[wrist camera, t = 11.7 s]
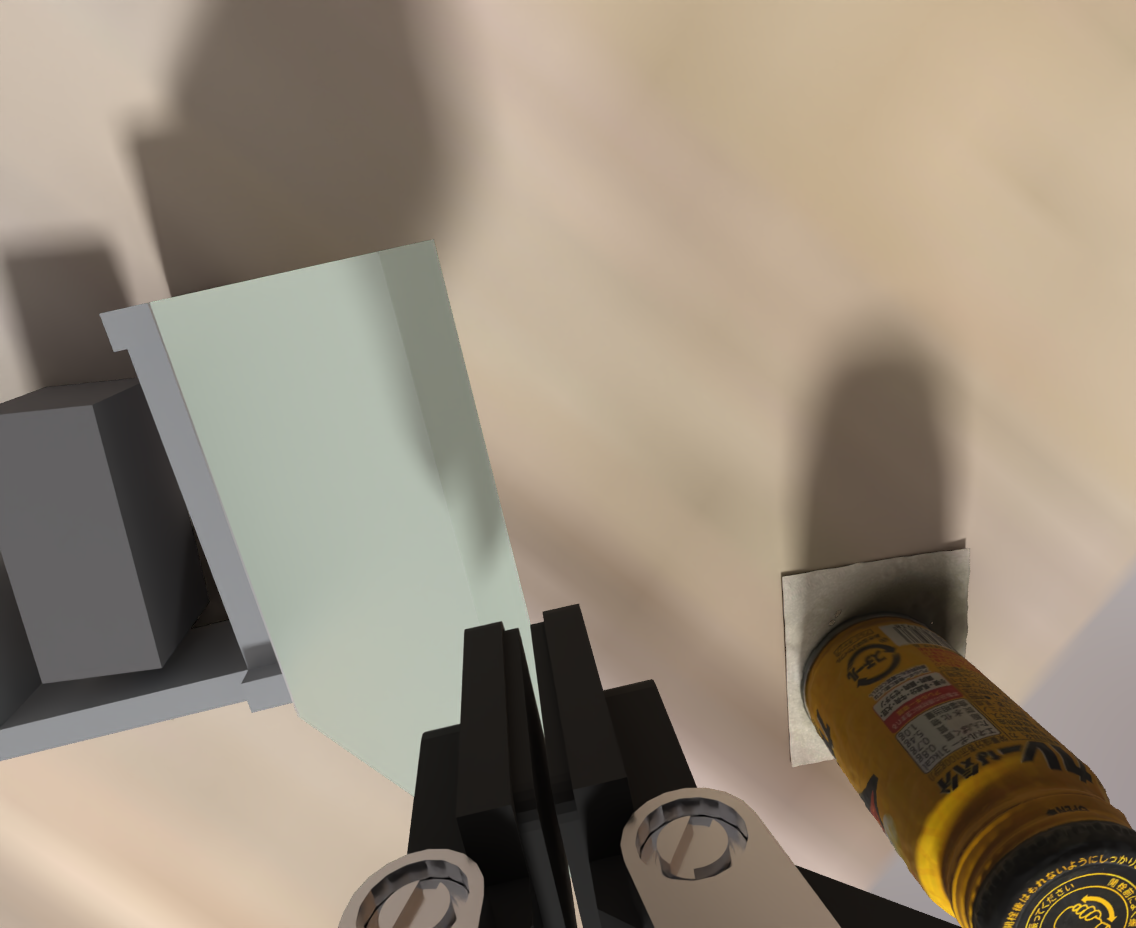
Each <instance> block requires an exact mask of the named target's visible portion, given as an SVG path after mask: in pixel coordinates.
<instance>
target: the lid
mask: <svg viewBox="0 0 1136 928" xmlns="http://www.w3.org/2000/svg"><path fill="white" fill-rule="evenodd" d="M148 306H149V309H150V311H151V314H152V317H153V320H154V322H155V325H156V328H157V331H158V333H159V336H160V339H161V342H162V344H163V347H164V350H165V353H166V355H167V358H168V361H169V364H170V366H171V369H172V372H173V375H174V377H175V380H176V383H177V386H178V388H179V391H180V394H181V397H182V399H183V402H184V405H185V408H186V410H187V413H188V416H189V419H190V421H191V424H192V427H193V430H194V433H195V435H196V438H197V441H198V444H199V446H200V449H201V452H202V455H203V457H204V460H205V463H206V466H207V468H208V471H209V474H210V477H211V479H212V482H213V485H214V488H215V490H216V493H217V496H218V499H219V501H220V504H221V507H222V510H223V512H224V515H225V518H226V521H227V523H228V526H229V529H230V532H231V534H232V537H233V540H234V543H235V545H236V548H237V551H238V554H239V556H240V559H241V562H242V565H243V567H244V570H245V573H246V576H247V578H248V581H249V584H250V587H251V589H252V592H253V595H254V598H255V600H256V603H257V606H258V609H259V611H260V614H261V617H262V620H263V622H264V625H265V628H266V631H267V633H268V636H269V639H270V642H271V644H272V647H273V650H274V653H275V655H276V658H277V661H278V664H279V666H280V669H281V672H282V675H283V677H284V680H285V683H286V686H287V689H288V691H289V694H290V697H291V700H292V702H293V705H294V708H295V711H296V713H297V716H298V717H299V718H301V719H302V720H304V721H305V722H306V723H308V724H309V725H311V726H312V727H314V728H315V729H317V730H318V731H319V732H321V733H322V734H324V735H325V736H327V737H328V738H330V739H331V740H332V741H334V742H335V743H337V744H338V745H340V746H341V747H343V748H344V749H345V750H347V751H348V752H350V753H351V754H353V755H354V756H356V757H357V758H358V759H360V760H361V761H363V762H364V763H366V764H367V765H369V766H370V767H371V768H373V769H374V770H376V771H377V772H379V773H380V774H382V775H383V776H384V777H386V778H387V779H389V780H390V781H392V782H393V783H395V784H396V785H397V786H399V787H400V788H402V789H403V790H405V791H406V792H408V793H409V794H410V795H412V796H413V797H414V794H415V786H416V777H417V769H418V761H419V753H420V744H421V738H422V734H423V733H424V732H426V731H430V730H435V729H439V728H443V727H448V726H452V725H456V724H460V715H461V692H462V669H463V646H464V630H465V629H468V628H473V627H477V626H482V625H486V624H491V623H495V622H499V621H502V622H503V625H504V628H505V630H510V629H514V628H519V631H520V635H521V639H522V643H523V647H524V652H525V656H526V660H527V664H528V669H529V673H530V677H531V682H532V686H533V690H534V695H535V699H536V703H537V707H538V712H539V716H540V720H541V725H542V729H543V721H542V714H541V706H540V698H539V691H538V683H537V675H536V668H535V660H534V652H533V645H532V637H531V630H530V625H531V624H530V620H529V616H528V612H527V608H526V604H525V600H524V596H523V592H522V588H521V584H520V580H519V576H518V572H517V568H516V564H515V560H514V556H513V553H512V549H511V545H510V541H509V537H508V533H507V529H506V525H505V521H504V517H503V513H502V509H501V505H500V501H499V497H498V493H497V489H496V485H495V481H494V477H493V473H492V469H491V465H490V461H489V457H488V453H487V449H486V445H485V441H484V437H483V433H482V429H481V425H480V421H479V417H478V414H477V410H476V406H475V402H474V398H473V394H472V390H471V386H470V382H469V378H468V374H467V370H466V366H465V362H464V358H463V354H462V350H461V346H460V342H459V338H458V334H457V330H456V326H455V322H454V318H453V314H452V310H451V306H450V302H449V298H448V294H447V290H446V286H445V282H444V278H443V275H442V271H441V267H440V263H439V259H438V255H437V251H436V247H435V243H434V239H432V240H428V241H423V242H419V243H414V244H409V245H405V246H400V247H396V248H391V249H387V250H382V251H378V252H373V253H369V254H364V255H360V256H355V257H351V258H346V259H342V260H337V261H333V262H328V263H324V264H319V265H315V266H311V267H306V268H302V269H297V270H293V271H288V272H284V273H279V274H275V275H270V276H266V277H261V278H257V279H252V280H248V281H243V282H239V283H234V284H230V285H225V286H221V287H216V288H212V289H208V290H203V291H199V292H194V293H190V294H185V295H181V296H176V297H172V298H167V299H163V300H158V301H154V302H149V303H148ZM543 733H544V729H543ZM544 737H545V736H544ZM568 867H569V865H568ZM569 874H570V870H569ZM570 877H571V874H570Z"/></svg>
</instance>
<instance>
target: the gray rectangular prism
mask: <svg viewBox="0 0 1136 928" xmlns="http://www.w3.org/2000/svg"><path fill="white" fill-rule="evenodd" d="M0 551H1V554H2V558H3V561H4V564H5V567H6V570H7V573H8V577H9V580H10V583H11V586H12V589H13V592H14V596H15V599H16V602H17V605H18V608H19V611H20V615H21V618H22V621H23V624H24V627H25V630H26V634H27V637H28V640H29V643H30V646H31V649H32V653H33V656H34V659H35V662H36V665H37V668H38V672H39V675H40V678H41V681H42V684H44V683H52V682H60V681H67V680H75V679H83V678H90V677H98V676H106V675H113V674H121V673H129V672H136V671H144V670H152V669H159V668H162V667H163V666H164V664H165V663H166V662H167V660H168V659H169V658H170V656H171V655H172V653H173V652H174V651H175V649H176V648H177V646H178V645H179V644H180V642H181V641H182V639H183V638H184V637H185V635H186V634H187V632H188V631H189V630H190V628H191V627H192V625H193V624H194V623H195V621H196V620H197V619H198V617H199V616H200V614H201V613H202V612H203V610H204V609H205V607H206V606H207V605H208V603H209V602H210V601H209V597H208V593H207V589H206V584H205V580H204V576H203V572H202V568H201V563H200V559H199V555H198V551H197V547H196V542H195V538H194V534H193V530H192V526H191V521H190V517H189V513H188V509H187V506H186V503H185V501H184V498H183V495H182V493H181V490H180V487H179V485H178V482H177V480H176V477H175V474H174V472H173V469H172V466H171V464H170V461H169V458H168V456H167V453H166V450H165V448H164V445H163V442H162V440H161V437H160V434H159V432H158V429H157V427H156V424H155V421H154V419H153V416H152V413H151V411H150V408H149V405H148V403H147V400H146V397H145V395H144V392H143V389H142V387H141V384H140V381H139V379H138V378H130V379H121V380H111V381H101V382H91V383H82V384H72V385H62V386H53V387H45V388H42V389H39V390H36V391H34V392H31V393H28V394H26V395H23V396H20V397H17V398H15V399H12V400H9V401H6V402H4V403H1V404H0Z"/></svg>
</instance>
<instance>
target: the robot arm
mask: <svg viewBox="0 0 1136 928" xmlns="http://www.w3.org/2000/svg"><path fill="white" fill-rule="evenodd" d="M543 618H544V622H541V623H536V624H532V625H530V630H531V637H532V645H533V652H534V660H535V668H536V675H537V683H538V691H539V698H540V706H541V714H542V721H543V729H544V733H543V729H542V725H541V720H540V716H539V712H538V707H537V703H536V699H535V695H534V690H533V686H532V682H531V677H530V673H529V669H528V664H527V660H526V656H525V652H524V647H523V643H522V639H521V635H520V631H519V628H514V629H510V630H505V628H504V625H503V622H502V621H499V622H495V623H491V624H486V625H482V626H477V627H473V628H468V629H465V630H464V646H463V669H462V692H461V715H460V724H456V725H452V726H448V727H443V728H439V729H435V730H430V731H426V732H424V733H423V734H422V738H421V744H420V753H419V761H418V769H417V777H416V786H415V794H414V802H413V810H412V818H411V827H410V835H409V843H408V851H407V855H405V856H403V857H401V858H399V859H396V860H394V861H392V862H390V863H388V864H386V865H385V866H384V867H382V868H381V869H379V870H378V871H377V872H375V873H374V874H373V875H371V876H370V877H368V879H367V880H366V881H365V882H364V883H363V884H362V885H361V886H360V887H359V888H358V890H357V891H356V892H355V893H354V894H353V896H352V898H351V899H350V901H349V903H348V905H347V907H346V909H345V910H344V912H343V915H342V918H341V920H340V923H339V926H338V928H577V923H576V916H575V909H574V902H573V895H572V888H571V881H570V874H571V878H572V882H573V887H574V891H575V895H576V899H577V904H578V908H579V912H580V916H581V921H582V925H583V928H962V927H959V926H957V925H954V924H951V923H949V922H946V921H943V920H941V919H938V918H935V917H933V916H930V915H927V914H925V913H922V912H919V911H917V910H914V909H911V908H909V907H906V906H903V905H900V904H898V903H895V902H892V901H890V900H887V899H885V898H882V897H879V896H877V895H874V894H871V893H869V892H866V891H863V890H861V889H858V888H855V887H853V886H850V885H847V884H845V883H842V882H839V881H837V880H834V879H831V878H829V877H826V876H823V875H820V874H818V873H815V872H812V871H810V870H807V869H804V868H802V867H799V866H796V865H794V863H793V862H792V861H791V859H790V858H789V857H788V855H787V854H786V853H785V851H784V850H783V849H782V847H781V846H780V845H779V843H778V842H777V841H776V839H775V838H774V836H773V835H772V834H771V832H770V831H769V830H768V828H767V827H766V826H765V824H764V823H763V822H762V820H761V819H760V818H759V816H758V815H757V814H756V812H755V811H754V810H753V809H751V808H750V807H749V806H748V805H747V804H746V803H745V802H744V801H743V800H741V799H739V798H737V797H735V796H733V795H731V794H729V793H727V792H724V791H719V790H714V789H710V788H697V786H696V784H695V781H694V779H693V776H692V774H691V771H690V769H689V766H688V764H687V761H686V759H685V756H684V754H683V751H682V749H681V746H680V744H679V741H678V739H677V736H676V734H675V731H674V729H673V726H672V724H671V721H670V719H669V717H668V714H667V712H666V709H665V707H664V704H663V702H662V699H661V697H660V694H659V692H658V689H657V687H656V684H655V682H654V680H652V679H651V680H647V681H642V682H638V683H634V684H629V685H625V686H621V687H616V688H612V689H608V690H603V689H602V685H601V681H600V678H599V674H598V671H597V667H596V663H595V660H594V656H593V653H592V649H591V645H590V642H589V638H588V634H587V631H586V627H585V624H584V620H583V616H582V613H581V609H580V606H579V604H575V605H571V606H566V607H562V608H557V609H553V610H548V611H544V612H543ZM544 736H545V737H544ZM568 865H569V867H568ZM569 870H570V874H569Z"/></svg>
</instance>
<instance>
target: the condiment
mask: <svg viewBox="0 0 1136 928" xmlns="http://www.w3.org/2000/svg"><path fill="white" fill-rule="evenodd" d="M969 575H970V548H969V549H960V550H953V551H940V552H935V553H926V554H919V555H914V556H908V557H898V558H892V559H885V560H880V561H873V562H867V563H855V564H853V565H849V566H844V567H838V568H833V569H824V570H816V571H813V572H809V573H803V574H797V575H791V576H784V577H782V583H783V597H784V619H785V643H786V662H787V665H786V667H787V696H788V714H789V733H790V753H791V763H792V767H796V766H800V765H806V764H812V763H818V762H821V761H824V760H832V759H835V760H836V761H837V763H838V765H839V766H840V767H841V769H842V771H843V772H844V773H845V774H846V776H847V777H848V779H849V781H850V783H851V784H852V785H853V787H854V789H855V790H856V791H857V792H858V793H859V795H860V797H861V799H862V800H863V801H864V803H865V805H866V807H867V808H868V810H869V811H870V812H871V814H872V815H873V816H874V817H875V819H876V820H877V821H878V823H879V825H880V827H881V828H882V829H883V832H884V833H885V834H886V836H887V837H888V838H889V840H890V842H891V844H892V845H893V846H894V848H895V850H896V852H897V853H898V855H899V856H900V857H902V859H903V860H904V862H905V863H906V865H907V867H908V869H909V871H910V872H911V873H912V875H913V876H914V877H915V879H916V880H917V881H918V882H919V884H920V885H921V887H922V888H923V890H924V891H925V892H926V893H927V895H928V896H929V897H930V898H931V900H932V901H933V902H935V903H936V904H937V905H938V906H939V907H941V908H942V909H943V910H945V911H946V912H947V913H949V914H950V915H951V916H953V917H955V918H956V919H957V921H958V922H959V924H960V925H961V927H962V928H1136V832H1135V831H1134V830H1133V829H1132V828H1131V826H1130V824H1129V823H1128V821H1127V820H1126V817H1125V815H1124V814H1123V813H1122V812H1121V811H1120V810H1118V809H1116V808H1114V807H1113V806H1112V805H1111V804H1110V801H1109V798H1108V797H1107V794H1106V791H1105V789H1104V787H1103V785H1102V784H1101V782H1100V781H1099V779H1098V778H1097V776H1096V775H1095V774H1094V773H1093V772H1092V770H1090V768H1089V767H1088V766H1087V765H1086V764H1084V763H1083V762H1082V761H1081V760H1079V759H1078V758H1077V757H1076V756H1075V755H1074V754H1073V753H1072V752H1070V751H1069V750H1068V749H1067V748H1066V747H1065V746H1064V745H1062V744H1061V743H1060V742H1059V741H1058V740H1057V739H1056V738H1055V737H1053V736H1052V735H1051V734H1050V733H1049V732H1048V731H1046V730H1045V729H1044V728H1043V727H1042V726H1041V725H1040V724H1039V723H1037V722H1036V721H1035V720H1034V719H1033V718H1032V717H1031V716H1030V715H1029V714H1028V713H1027V712H1025V711H1024V710H1023V709H1022V708H1021V707H1020V706H1018V705H1017V704H1016V703H1015V702H1014V701H1013V700H1012V699H1010V698H1009V697H1008V696H1007V695H1006V694H1005V693H1004V692H1003V691H1002V690H1000V689H999V688H998V687H997V686H996V685H995V684H994V683H992V682H991V681H990V680H989V679H988V678H987V677H986V676H984V675H983V674H982V673H981V672H980V671H979V670H978V669H976V668H975V666H973V665H972V664H971V663H970V662H968V661H967V660H966V659H965V653H966V638H967V633H968V624H967V611H968V603H967V598H968V583H969ZM839 610H841V611H842V612H841V613H840V615H839V616H838V617H835V614H836V612H837V611H839ZM832 620H835V623H834V624H833V625H829V623H830V622H831V621H832ZM931 622H933V624H931Z"/></svg>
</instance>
